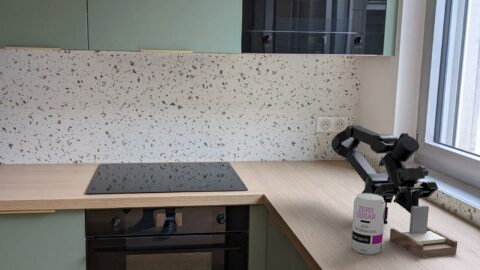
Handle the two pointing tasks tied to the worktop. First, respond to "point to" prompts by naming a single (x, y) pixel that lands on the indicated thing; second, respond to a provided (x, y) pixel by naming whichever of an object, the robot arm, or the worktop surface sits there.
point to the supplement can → (368, 223)
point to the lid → (422, 226)
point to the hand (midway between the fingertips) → (417, 216)
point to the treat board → (424, 249)
